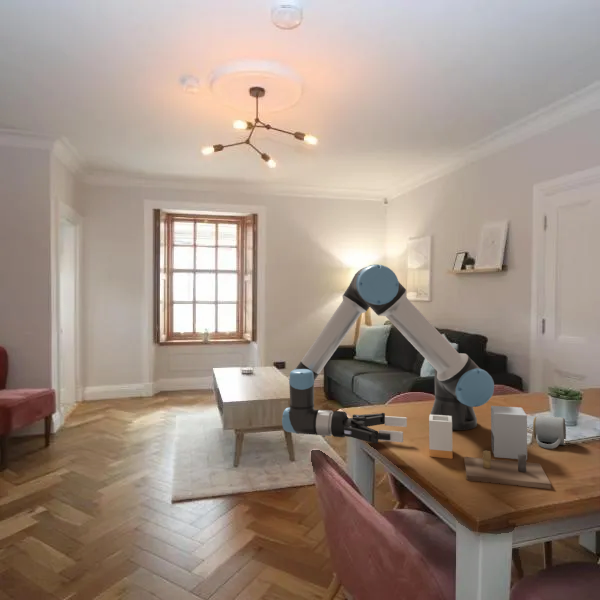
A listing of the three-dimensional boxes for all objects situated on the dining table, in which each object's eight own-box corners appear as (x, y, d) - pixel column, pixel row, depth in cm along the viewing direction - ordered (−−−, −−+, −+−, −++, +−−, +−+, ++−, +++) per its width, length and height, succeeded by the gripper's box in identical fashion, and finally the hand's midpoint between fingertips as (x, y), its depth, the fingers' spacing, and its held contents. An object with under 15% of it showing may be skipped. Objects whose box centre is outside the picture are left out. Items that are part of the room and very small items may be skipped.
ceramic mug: (535, 435, 136) (535, 411, 135) (566, 440, 131) (566, 415, 131) (530, 447, 127) (530, 420, 127) (563, 452, 122) (563, 425, 122)
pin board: (464, 461, 117) (464, 441, 117) (539, 468, 112) (539, 448, 112) (467, 480, 106) (466, 458, 106) (550, 489, 100) (550, 466, 100)
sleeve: (430, 448, 127) (429, 414, 126) (451, 450, 125) (451, 415, 125) (429, 456, 121) (429, 420, 121) (452, 458, 119) (452, 422, 119)
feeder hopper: (490, 446, 127) (490, 405, 127) (521, 449, 125) (521, 407, 124) (494, 457, 120) (493, 413, 119) (527, 459, 117) (526, 415, 117)
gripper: (341, 423, 144) (408, 428, 138) (322, 450, 120) (401, 458, 114) (341, 400, 144) (407, 405, 138) (322, 423, 120) (401, 430, 114)
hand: (405, 429), depth 126 cm, fingers open, 13 cm apart
